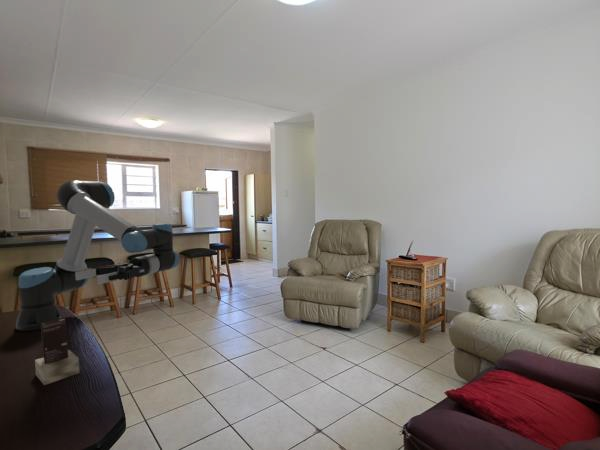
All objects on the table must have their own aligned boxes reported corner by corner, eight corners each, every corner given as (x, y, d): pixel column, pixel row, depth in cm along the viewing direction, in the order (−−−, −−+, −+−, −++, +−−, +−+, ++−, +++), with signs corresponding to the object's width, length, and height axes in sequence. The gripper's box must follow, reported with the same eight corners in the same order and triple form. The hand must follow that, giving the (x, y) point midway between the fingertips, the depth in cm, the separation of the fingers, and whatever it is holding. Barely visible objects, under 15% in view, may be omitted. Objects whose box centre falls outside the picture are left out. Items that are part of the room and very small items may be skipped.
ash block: (70, 364, 110) (69, 349, 109) (79, 373, 104) (78, 358, 104) (35, 375, 103) (34, 359, 102) (44, 386, 97) (43, 369, 97)
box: (45, 365, 99) (40, 328, 97) (43, 357, 103) (39, 322, 100) (69, 358, 103) (66, 322, 101) (67, 351, 107) (64, 316, 104)
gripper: (166, 278, 125) (110, 294, 105) (123, 272, 135) (66, 285, 115) (165, 258, 124) (109, 270, 105) (123, 253, 134) (64, 263, 114)
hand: (86, 278), depth 110 cm, fingers open, 11 cm apart
